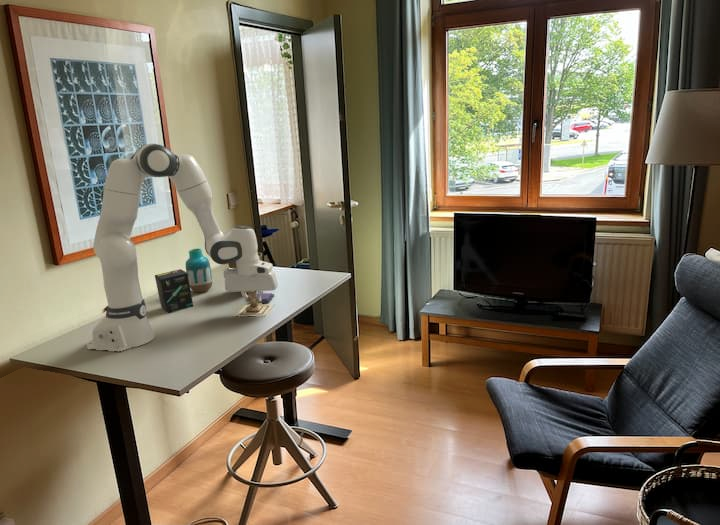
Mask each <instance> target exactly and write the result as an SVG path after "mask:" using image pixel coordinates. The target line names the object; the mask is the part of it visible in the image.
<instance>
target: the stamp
mask: <svg viewBox="0 0 720 525" xmlns="http://www.w3.org/2000/svg"><path fill="white" fill-rule="evenodd" d="M247 292H248V293H247V295H248V296H249V301H250V303H249V304H247V305H248V306H247V307H246V312H259V311H260V310H261V309H262V308H263V305H264V304H262V303H258V302H257V301H256V297H257V294H258V293H257V291H247Z"/></svg>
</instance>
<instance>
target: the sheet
mask: <svg viewBox="0 0 720 525" xmlns="http://www.w3.org/2000/svg"><path fill="white" fill-rule="evenodd" d="M248 305H249V304H245V305H244V306H243V307H242V308H241V309H240V310H239V311H238V312H237V313H236V315H235V316H239V317H238V318H241V317H240V316H246V317H247V316H256V317H266V316H267V315H268V313H269V312H270V311H271V310H272V309H273V307H274V306H275V304H274V303H273V304H270V303H267V304H263V308H262V309H261V310H260V311H259V312H246V307H247V306H248ZM273 305H274V306H273ZM270 309H271V310H270ZM266 314H267V315H266ZM246 317H245V318H246Z"/></svg>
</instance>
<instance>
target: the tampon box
mask: <svg viewBox="0 0 720 525" xmlns="http://www.w3.org/2000/svg"><path fill="white" fill-rule="evenodd" d="M154 279H155V283H156V289H157V293H158V297H159V303H160V307H161V309H163V310H164V311H165V312H166V313H167V314H170V313H174V312H178V311H181V310H183V309H188V308H191V307H194V302H193V296H192V292H191V290H192V289H191V288H190V285H189V279H188V273H186V270H183V269H181V268H180V269H179V268H178V269H175V270H171V271H166V272H162V273H159V274H155V275H154Z"/></svg>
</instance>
